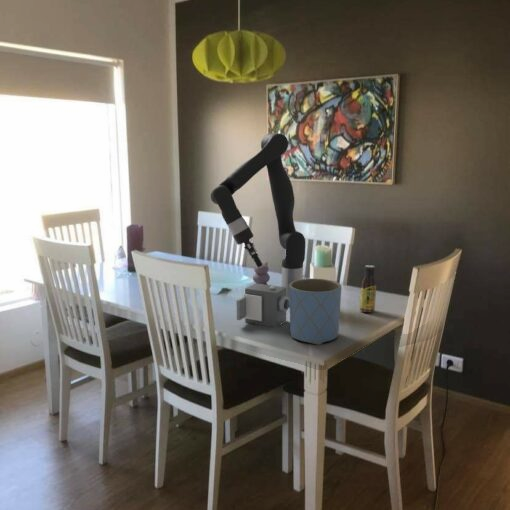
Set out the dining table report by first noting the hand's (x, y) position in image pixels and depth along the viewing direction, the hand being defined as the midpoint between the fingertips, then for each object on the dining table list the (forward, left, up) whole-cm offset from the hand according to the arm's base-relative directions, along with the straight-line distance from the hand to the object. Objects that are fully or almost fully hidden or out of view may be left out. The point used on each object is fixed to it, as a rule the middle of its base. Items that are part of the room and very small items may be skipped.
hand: (259, 265), depth 226 cm
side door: (+10, +8, -20) cm, 24 cm away
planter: (-6, +30, -22) cm, 38 cm away
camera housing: (+1, +8, -22) cm, 23 cm away
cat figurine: (-24, -39, -22) cm, 51 cm away
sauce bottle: (-43, +18, -22) cm, 51 cm away
